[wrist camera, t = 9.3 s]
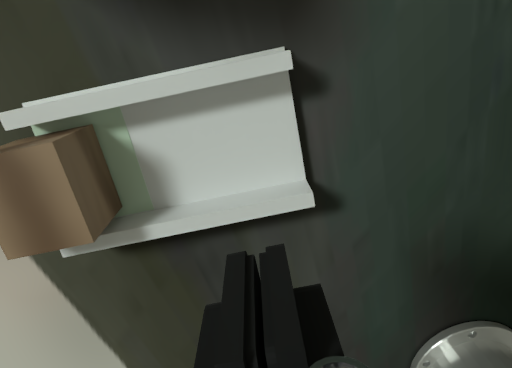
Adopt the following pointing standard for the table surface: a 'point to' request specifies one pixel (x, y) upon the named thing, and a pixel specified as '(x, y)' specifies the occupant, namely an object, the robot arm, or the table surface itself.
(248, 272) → the robot arm
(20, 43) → the table surface
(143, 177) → the chute
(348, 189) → the table surface
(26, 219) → the walnut block
